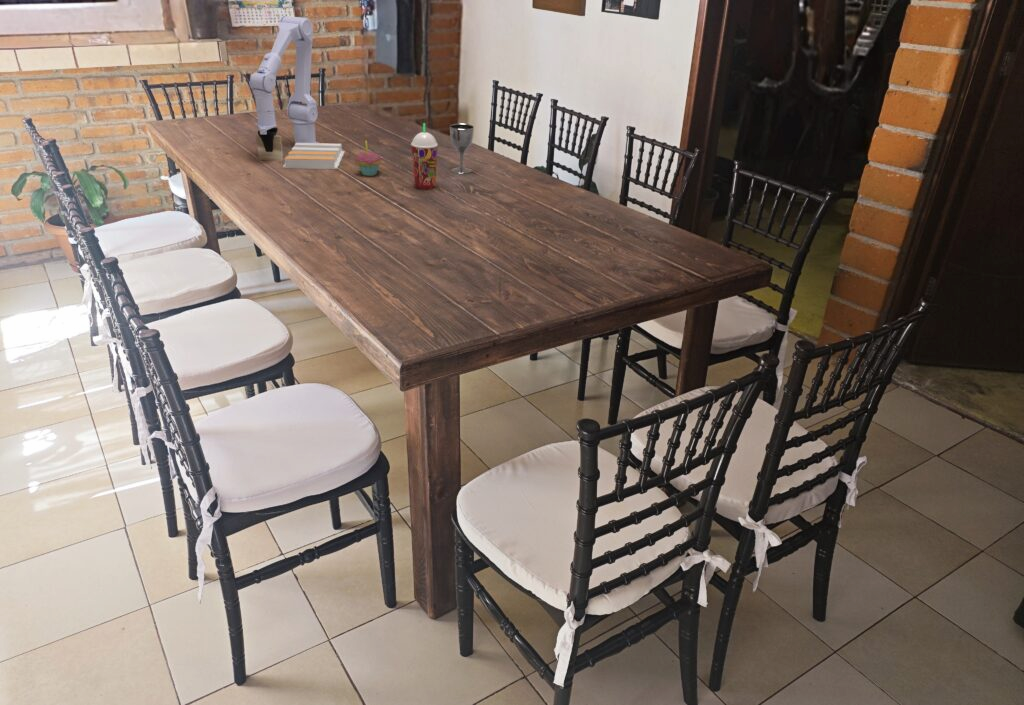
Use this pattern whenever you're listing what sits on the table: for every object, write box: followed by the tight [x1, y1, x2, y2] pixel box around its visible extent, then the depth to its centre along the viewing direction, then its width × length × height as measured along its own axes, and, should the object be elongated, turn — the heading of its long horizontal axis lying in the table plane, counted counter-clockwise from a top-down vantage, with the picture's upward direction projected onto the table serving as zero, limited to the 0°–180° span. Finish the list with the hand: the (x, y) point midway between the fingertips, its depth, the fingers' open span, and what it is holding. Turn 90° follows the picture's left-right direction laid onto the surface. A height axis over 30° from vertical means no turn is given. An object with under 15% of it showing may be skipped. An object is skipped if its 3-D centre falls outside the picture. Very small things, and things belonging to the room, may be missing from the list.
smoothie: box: [410, 122, 439, 190], centre depth 237 cm, size 8×8×20 cm
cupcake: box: [355, 140, 382, 177], centre depth 248 cm, size 9×8×12 cm
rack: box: [282, 142, 346, 170], centre depth 262 cm, size 22×18×3 cm
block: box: [255, 134, 284, 161], centre depth 259 cm, size 2×8×8 cm, turn 94°
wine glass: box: [449, 123, 475, 174], centre depth 256 cm, size 8×8×15 cm
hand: (270, 150), depth 260 cm, fingers closed on block, 2 cm apart
